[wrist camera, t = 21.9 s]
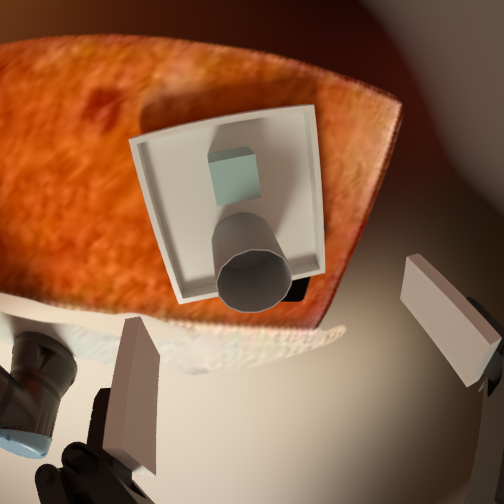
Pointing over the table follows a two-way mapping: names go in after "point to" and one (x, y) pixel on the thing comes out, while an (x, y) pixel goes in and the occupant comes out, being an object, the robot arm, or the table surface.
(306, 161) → the shallow white dish
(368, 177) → the table surface
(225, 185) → the block
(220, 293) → the cup
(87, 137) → the table surface
